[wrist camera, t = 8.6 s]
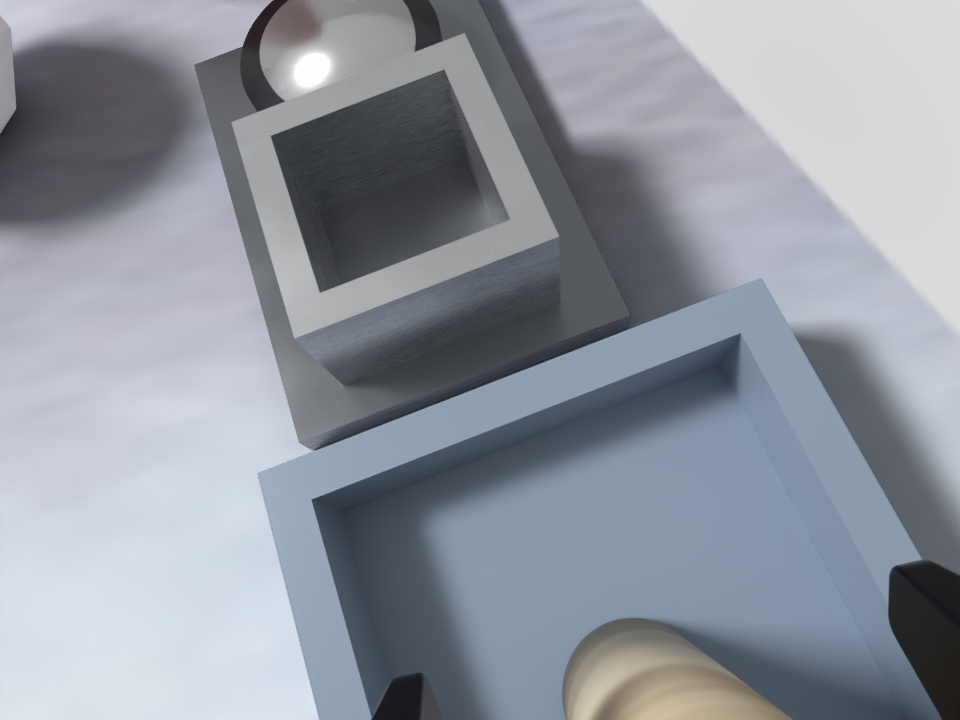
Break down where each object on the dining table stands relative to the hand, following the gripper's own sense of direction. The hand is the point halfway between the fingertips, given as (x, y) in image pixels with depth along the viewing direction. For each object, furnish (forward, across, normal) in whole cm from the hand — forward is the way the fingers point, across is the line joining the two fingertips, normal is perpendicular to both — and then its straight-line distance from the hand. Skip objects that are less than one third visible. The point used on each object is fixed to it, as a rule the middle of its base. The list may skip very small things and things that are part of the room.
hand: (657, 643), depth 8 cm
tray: (+5, 0, +7) cm, 9 cm away
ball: (+20, +17, -8) cm, 27 cm away
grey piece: (+15, +3, -3) cm, 16 cm away
